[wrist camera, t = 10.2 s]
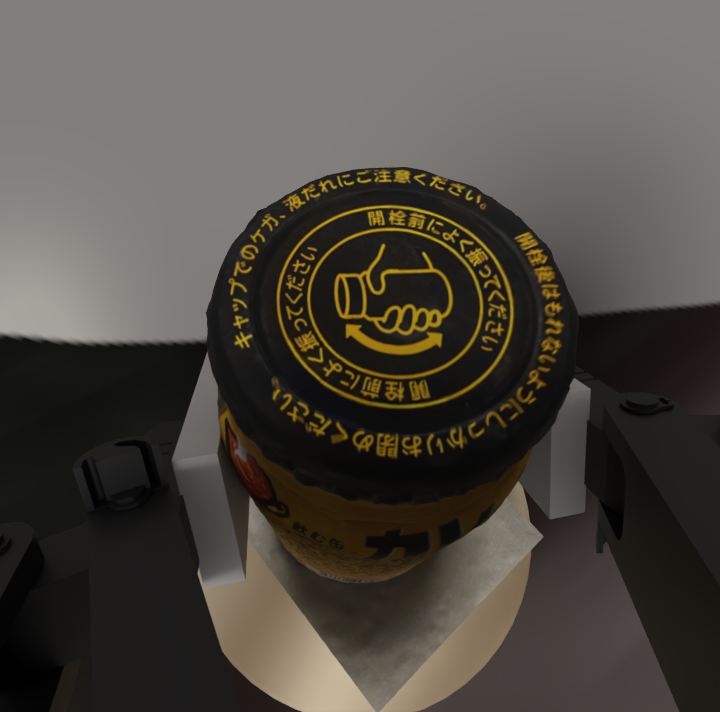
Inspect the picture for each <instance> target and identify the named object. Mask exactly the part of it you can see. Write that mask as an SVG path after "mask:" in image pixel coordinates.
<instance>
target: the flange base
mask: <svg viewBox="0 0 720 712" xmlns="http://www.w3.org/2000/svg"><path fill="white" fill-rule="evenodd" d="M507 499H508V500H509V501H510V502H511V503H512V504H513V505H514V506H515V507H516V508H517V509H518V510H519V511H520V512H521V513H522V514H523V515H524V516H525V517H526V518H527V519H528V520H529V512H528V506H527V502H526V498H525V494H524V490H523V486H522V485H521V484H520V482H519V481H518V482H517V483H516V485H515V487H514V488H513V490H512V491H511V492H510V494H509V495H508V496H507ZM529 522H530V520H529ZM530 558H531V551H530V552H529V553H528V554H527V555H526V556H525V557H524V558H523V559H522V560H521V561H520V562H519V563H518V564H517V565H516V566H515V567H514V568H513V569H512V570H511V571H510V572H509V574H508V575H507V576H506V577H505V578H504V579H503V580H502V581H501V582H500V583H499V584H498V585H497V586H496V587H495V588H494V590H493V591H492V592H491V593H490V594H489V595H488V596H487V597H486V598H485V599H484V600H483V601H482V602H481V603H479V604H478V605H477V607H476V608H475V610H474V611H473V612H472V613H471V614H470V615H469V616H468V617H467V618H466V619H465V620H464V621H463V622H462V623H461V624H460V625H459V626H458V628H457V629H456V630H455V631H454V632H453V633H452V634H451V635H450V636H449V637H448V638H447V639H446V640H445V641H444V643H443V644H442V645H441V646H440V647H439V648H438V649H437V650H436V651H435V652H434V653H433V654H432V655H431V657H430V658H429V659H428V660H427V661H426V662H425V663H424V664H423V665H422V666H421V667H420V668H419V669H418V670H417V671H416V673H415V674H414V675H413V676H412V677H411V678H410V679H409V680H408V681H407V682H406V683H405V684H404V685H403V686H402V688H401V689H400V690H399V691H398V692H397V693H396V695H395V696H394V697H393V698H392V699H391V700H390V701H389V702H388V703H387V704H386V705H385V706H384V708H383V709H382V710H381V711H380V712H417V711H420V710H423V709H425V708H427V707H429V706H431V705H433V704H435V703H437V702H439V701H441V700H443V699H445V698H446V697H448V696H449V695H451V694H452V693H453V692H455V691H456V690H458V689H459V688H460V687H462V686H463V685H465V684H466V683H467V682H468V681H469V680H470V679H471V678H472V677H473V676H475V675H476V674H477V673H478V672H479V671H480V670H481V669H482V668H483V667H484V666H485V665H486V663H487V662H488V661H489V660H490V658H491V657H492V656H493V654H494V653H495V652H496V651H497V649H498V648H499V647H500V645H501V644H502V642H503V640H504V638H505V637H506V635H507V633H508V631H509V630H510V628H511V626H512V624H513V622H514V620H515V617H516V615H517V612H518V610H519V607H520V605H521V602H522V599H523V595H524V591H525V588H526V584H527V580H528V574H529V566H530ZM198 577H199V580H200V583H201V586H202V589H203V592H204V596H205V599H206V602H207V605H208V608H209V611H210V615H211V618H212V621H213V624H214V627H215V630H216V633H217V637H218V640H219V643H220V646H221V649H222V651H223V653H224V654H225V655H226V657H227V658H228V659H229V660H230V662H231V663H232V664H233V665H234V666H235V667H236V668H237V669H238V670H239V671H240V672H241V673H242V674H243V675H244V676H245V677H246V678H247V679H248V680H249V681H250V682H251V683H253V684H254V685H255V686H257V687H258V688H260V689H261V690H263V691H264V692H265V693H267V694H268V695H270V696H271V697H272V698H274V699H276V700H278V701H280V702H282V703H284V704H286V705H288V706H290V707H292V708H294V709H296V710H299V711H302V712H375V710H374V709H373V708H372V706H371V705H370V703H369V702H368V701H367V699H366V698H365V697H364V695H363V694H362V693H361V691H360V690H359V689H358V687H357V686H356V685H355V683H354V682H353V681H352V679H351V678H350V676H349V675H348V674H347V672H346V671H345V670H344V668H343V667H342V666H341V664H340V663H339V662H338V660H337V659H336V658H335V656H334V655H333V654H332V653H331V651H330V650H329V648H328V647H327V645H326V644H325V643H324V641H323V640H322V639H321V638H320V636H319V635H318V634H317V632H316V631H315V629H314V628H313V627H312V625H311V624H310V623H309V621H308V620H307V618H306V617H305V616H304V615H303V613H302V612H301V611H300V609H299V608H298V607H297V605H296V604H295V603H294V601H293V600H292V598H291V597H290V596H289V594H288V593H287V592H286V591H285V589H284V588H283V586H282V585H281V584H280V582H279V581H278V580H277V578H276V577H275V575H274V574H273V573H272V571H271V570H270V569H269V568H268V566H267V565H266V563H265V562H264V561H263V559H262V558H261V557H260V555H259V554H258V553H257V551H256V550H255V549H254V547H253V546H252V545H251V543H250V542H249V541H248V543H247V563H246V581H241V582H236V583H231V584H226V585H221V586H216V587H211V588H207V589H204V585H203V582H202V578H201V574H200V570H199V568H198Z"/></svg>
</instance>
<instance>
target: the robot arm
mask: <svg viewBox="0 0 720 712" xmlns="http://www.w3.org/2000/svg"><path fill="white" fill-rule="evenodd" d="M217 400H218V385H217V383H216V380H215V378H214V376H213V373H212V370H211V365H210V361H209V357H208V352H207V355H206V358H205V361H204V364H203V367H202V370H201V373H200V376H199V379H198V382H197V385H196V388H195V391H194V394H193V397H192V400H191V403H190V406H189V409H188V412H187V415H186V418H185V420H179V421H173V422H167V423H161V424H157V425H156V426H155V427H153V428H152V429H151V430H150V431H149V432H147V433H146V434H145V435H144V436H140V437H127V438H122V439H117V440H113V441H111V442H108V443H105V444H102V445H100V446H98V447H96V448H94V449H92V450H90V451H88V452H87V453H85V454H84V455H83V456H82V457H80V458H79V459H78V460H77V461H76V463H75V465H74V467H73V472H74V475H75V478H76V481H77V484H78V487H79V490H80V493H81V496H82V499H83V502H84V505H85V508H86V511H87V522H86V523H84V524H82V525H80V526H78V527H75V528H73V529H70V530H68V531H65V532H62V533H60V534H57V535H54V536H51V537H48V538H46V539H43V540H40V541H38V540H37V537H36V535H35V532H34V530H33V529H32V528H31V526H30V525H29V524H25V523H20V522H14V523H5V524H0V712H66V710H67V707H68V704H69V700H70V697H71V694H72V690H73V687H74V684H75V680H76V677H77V674H78V670H79V667H80V658H81V657H83V656H86V655H88V654H90V653H92V682H93V712H241V709H240V706H239V703H238V700H237V696H236V693H235V690H234V687H233V684H232V681H231V678H230V674H229V671H228V668H227V665H226V662H225V659H224V655H223V652H222V649H221V646H220V643H219V640H218V637H217V633H216V630H215V627H214V624H213V621H212V618H211V615H210V611H209V608H208V605H207V602H206V599H205V596H204V592H203V589H202V586H201V583H200V580H199V577H198V568H199V570H200V574H201V578H202V582H203V585H204V589H207V588H211V587H216V586H221V585H226V584H231V583H236V582H241V581H246V563H247V543H248V524H249V504H250V495H249V494H248V493H247V491H246V489H244V488H243V486H242V484H241V482H240V481H239V479H238V478H237V475H236V473H235V471H234V468H233V465H232V464H231V462H230V460H229V459H228V456H227V453H226V450H225V446H224V444H223V442H222V440H221V434H220V425H219V419H218V405H217ZM518 481H519V482H520V484H521V485H522V486H523V487H524V488H525V490H526V491H527V492H528V493H529V495H530V496H531V497H532V498H533V500H534V501H535V502H536V503H537V504H538V506H539V507H540V508H541V509H542V511H543V512H544V513H545V514H546V515H547V517H548V518H549V519H554V518H559V517H564V516H569V515H574V514H579V513H584V512H585V499H586V486H587V487H588V488H589V489H590V490H591V491H592V492H593V493H594V494H595V495H596V496H597V497H598V498H599V500H598V517H597V535H596V552H597V553H603V544H604V543H605V542H606V541H607V542H608V545H609V547H610V550H611V553H612V554H613V557H614V559H615V561H616V564H617V566H618V568H619V571H620V573H621V575H622V578H623V580H624V582H625V585H626V587H627V589H628V592H629V594H630V596H631V599H632V601H633V604H634V606H635V608H636V611H637V613H638V615H639V618H640V620H641V622H642V625H643V627H644V629H645V632H646V634H647V636H648V639H649V641H650V643H651V646H652V648H653V650H654V653H655V655H656V658H657V660H658V662H659V665H660V667H661V669H662V672H663V674H664V676H665V679H666V681H667V683H668V686H669V688H670V690H671V693H672V695H673V697H674V700H675V702H676V704H677V707H678V709H679V712H720V415H688V414H687V413H686V412H685V411H684V410H683V409H682V408H681V406H680V405H678V404H677V403H675V402H674V401H672V400H671V399H668V398H667V397H662V396H660V395H655V394H649V393H641V392H627V393H619V392H617V391H615V390H614V389H612V388H611V387H609V386H607V385H606V384H604V383H603V382H601V381H599V380H598V379H597V380H595V377H593V376H591V375H590V374H588V373H585V371H583V370H582V369H580V368H579V367H577V366H576V370H575V376H574V379H573V381H572V383H571V384H570V390H569V392H568V394H567V396H566V399H565V401H564V403H563V405H562V407H561V409H560V410H559V412H558V415H557V419H556V421H555V423H554V424H553V425H552V427H551V428H550V430H549V432H548V433H547V434H546V435H545V436H544V437H543V438H542V439H541V440H540V441H539V442H538V443H537V444H536V445H534V446H533V447H532V450H531V452H530V456H529V459H528V461H527V463H526V466H525V469H524V471H523V473H522V475H521V477H520V478H519V480H518Z"/></svg>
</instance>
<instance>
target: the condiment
mask: <svg viewBox="0 0 720 712" xmlns="http://www.w3.org/2000/svg"><path fill="white" fill-rule="evenodd" d="M206 315H207V327H208V335H207V352H208V357H209V361H210V365H211V370H212V373H213V376H214V378H215V380H216V383H217V385H218V400H217V405H218V419H219V425H220V434H221V440H222V442H223V444H224V446H225V450H226V453H227V456H228V459H229V460H230V462H231V464H232V465H233V468H234V471H235V473H236V475H237V478H238V479H239V481H240V482H241V484H242V486H243V488H244V489H246V491H247V493H248V494H249V495H250V504H249V524H248V541H249V542H250V543H251V545H252V546H253V547H254V549H255V550H256V551H257V553H258V554H259V555H260V557H261V558H262V559H263V561H264V562H265V563H266V565H267V566H268V568H269V569H270V570H271V571H272V573H273V574H274V575H275V577H276V578H277V580H278V581H279V582H280V584H281V585H282V586H283V588H284V589H285V591H286V592H287V593H288V594H289V596H290V597H291V598H292V600H293V601H294V603H295V604H296V605H297V607H298V608H299V609H300V611H301V612H302V613H303V615H304V616H305V617H306V618H307V620H308V621H309V623H310V624H311V625H312V627H313V628H314V629H315V631H316V632H317V634H318V635H319V636H320V638H321V639H322V640H323V641H324V643H325V644H326V645H327V647H328V648H329V650H330V651H331V653H332V654H333V655H334V656H335V658H336V659H337V660H338V662H339V663H340V664H341V666H342V667H343V668H344V670H345V671H346V672H347V674H348V675H349V676H350V678H351V679H352V681H353V682H354V683H355V685H356V686H357V687H358V689H359V690H360V691H361V693H362V694H363V695H364V697H365V698H366V699H367V701H368V702H369V703H370V705H371V706H372V708H373V709H374V710H375V712H380V711H381V710H382V709H383V708H384V706H385V705H386V704H387V703H388V702H389V701H390V700H391V699H392V698H393V697H394V696H395V695H396V693H397V692H398V691H399V690H400V689H401V688H402V686H403V685H404V684H405V683H406V682H407V681H408V680H409V679H410V678H411V677H412V676H413V675H414V674H415V673H416V671H417V670H418V669H419V668H420V667H421V666H422V665H423V664H424V663H425V662H426V661H427V660H428V659H429V658H430V657H431V655H432V654H433V653H434V652H435V651H436V650H437V649H438V648H439V647H440V646H441V645H442V644H443V643H444V641H445V640H446V639H447V638H448V637H449V636H450V635H451V634H452V633H453V632H454V631H455V630H456V629H457V628H458V626H459V625H460V624H461V623H462V622H463V621H464V620H465V619H466V618H467V617H468V616H469V615H470V614H471V613H472V612H473V611H474V610H475V608H476V607H477V605H478V604H479V603H481V602H482V601H483V600H484V599H485V598H486V597H487V596H488V595H489V594H490V593H491V592H492V591H493V590H494V588H495V587H496V586H497V585H498V584H499V583H500V582H501V581H502V580H503V579H504V578H505V577H506V576H507V575H508V574H509V572H510V571H511V570H512V569H513V568H514V567H515V566H516V565H517V564H518V563H519V562H520V561H521V560H522V559H523V558H524V557H525V556H526V555H527V554H528V553H529V552H530V551H531V550H532V548H533V547H534V546H535V545H536V544H537V543H538V542H539V541H540V540H541V539H542V538H543V535H542V534H541V533H540V532H539V531H538V530H537V529H536V528H535V527H534V526H533V525H532V524H531V523H530V522H529V520H528V519H527V518H526V517H525V516H524V515H523V514H522V513H521V512H520V511H519V510H518V509H517V508H516V507H515V506H514V505H513V504H512V503H511V502H510V501H509V500H508V499H507V496H508V495H509V494H510V492H511V491H512V490H513V488H514V487H515V485H516V483H517V482H518V480H519V478H520V477H521V475H522V473H523V471H524V469H525V466H526V463H527V461H528V459H529V456H530V452H531V450H532V447H533V446H534V445H536V444H537V443H538V442H539V441H540V440H541V439H542V438H543V437H544V436H545V435H546V434H547V433H548V432H549V430H550V428H551V427H552V425H553V424H554V423H555V421H556V419H557V415H558V412H559V410H560V409H561V407H562V405H563V403H564V401H565V399H566V396H567V394H568V392H569V390H570V384H571V383H572V381H573V379H574V376H575V370H576V351H577V336H578V330H579V317H578V312H577V309H576V307H575V305H574V302H573V300H572V298H571V296H570V294H569V292H568V290H567V287H566V285H565V282H564V279H563V277H562V275H561V273H560V271H559V269H558V267H557V265H556V263H555V262H554V259H553V256H552V252H551V251H550V249H549V248H548V246H547V245H546V244H545V243H544V242H542V241H541V240H540V239H539V238H538V237H537V235H536V234H535V233H534V232H533V231H532V230H531V229H530V228H529V227H528V226H527V225H526V224H525V223H524V222H523V221H522V219H520V218H519V217H518V216H516V215H515V214H514V213H513V212H512V211H510V210H509V209H507V208H505V207H504V206H502V205H501V204H499V203H498V202H497V201H496V200H494V199H493V198H492V197H490V196H487V195H485V194H483V193H482V192H481V191H480V190H478V189H477V188H476V187H473V186H470V185H467V184H464V183H461V182H456V181H453V180H450V179H446V178H443V177H440V176H437V175H435V174H432V173H430V172H427V171H424V170H418V169H413V168H407V167H398V168H368V169H357V170H350V171H346V172H341V173H337V174H332V175H327V176H325V177H323V178H320V179H317V180H315V181H312V182H309V183H308V184H306V185H304V186H302V187H301V188H299V189H297V190H295V191H294V192H292V193H290V194H287V195H285V196H284V197H283V198H281V199H280V200H278V201H277V202H275V203H273V204H271V205H269V206H268V207H267V208H264V209H261V210H259V211H257V213H256V215H255V216H254V217H253V219H252V220H251V221H250V222H249V223H248V225H247V227H246V229H245V231H243V232H242V233H241V234H240V235H239V236H238V238H237V239H236V240H235V241H234V243H233V244H232V246H231V247H230V249H229V251H228V253H227V255H226V257H225V259H224V261H223V264H222V266H221V268H220V271H219V274H218V277H217V280H216V283H215V286H214V290H213V294H212V298H211V301H210V303H209V305H208V309H207V312H206Z"/></svg>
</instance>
